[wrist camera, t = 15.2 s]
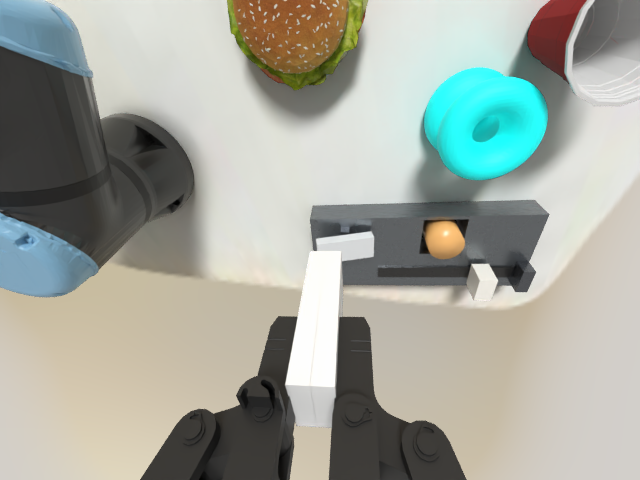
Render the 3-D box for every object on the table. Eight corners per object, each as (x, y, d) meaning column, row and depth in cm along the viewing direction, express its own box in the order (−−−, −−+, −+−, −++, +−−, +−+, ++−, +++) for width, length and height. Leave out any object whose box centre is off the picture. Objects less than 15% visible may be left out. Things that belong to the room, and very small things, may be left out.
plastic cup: (600, 74, 33) (702, 95, 24) (496, 92, 35) (550, 118, 26) (641, -58, 27) (801, -103, 18) (512, -28, 29) (592, -53, 20)
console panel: (319, 268, 54) (316, 294, 49) (312, 205, 46) (308, 228, 41) (508, 268, 50) (526, 296, 45) (534, 200, 43) (559, 224, 38)
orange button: (420, 239, 47) (426, 259, 43) (423, 213, 44) (430, 231, 40) (452, 239, 46) (461, 259, 42) (457, 212, 44) (468, 231, 40)
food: (393, 8, 32) (404, 4, 25) (300, 103, 38) (289, 119, 32) (303, -136, 26) (287, -187, 20) (212, 2, 33) (178, -3, 26)
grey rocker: (317, 258, 44) (319, 264, 43) (315, 238, 42) (317, 244, 41) (370, 250, 45) (373, 256, 43) (371, 231, 43) (374, 237, 41)
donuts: (437, 189, 32) (445, 89, 27) (420, 156, 41) (423, 74, 35) (539, 179, 31) (569, 70, 25) (500, 147, 39) (516, 58, 33)
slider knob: (466, 283, 47) (473, 300, 44) (471, 263, 45) (479, 280, 42) (482, 283, 47) (490, 300, 44) (488, 263, 44) (498, 280, 41)
